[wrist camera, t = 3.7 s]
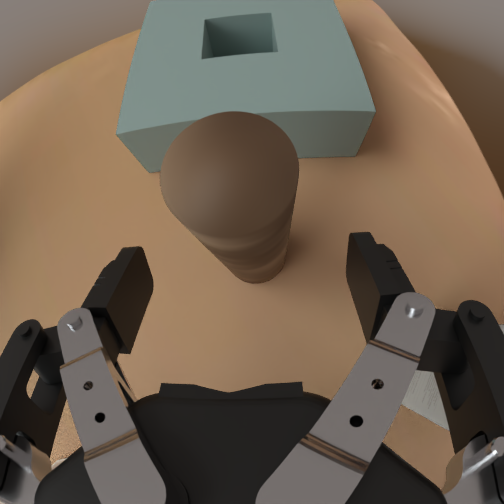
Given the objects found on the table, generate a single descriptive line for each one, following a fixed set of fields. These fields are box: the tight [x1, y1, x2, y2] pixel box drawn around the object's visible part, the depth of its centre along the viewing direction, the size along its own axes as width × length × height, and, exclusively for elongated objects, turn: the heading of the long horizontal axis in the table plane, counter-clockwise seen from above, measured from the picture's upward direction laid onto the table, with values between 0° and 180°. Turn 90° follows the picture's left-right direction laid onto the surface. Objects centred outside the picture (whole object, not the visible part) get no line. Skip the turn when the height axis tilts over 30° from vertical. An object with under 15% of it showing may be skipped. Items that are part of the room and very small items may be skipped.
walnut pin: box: [160, 111, 299, 283], centre depth 15 cm, size 4×4×13 cm
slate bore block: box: [116, 0, 376, 173], centre depth 21 cm, size 16×16×6 cm
